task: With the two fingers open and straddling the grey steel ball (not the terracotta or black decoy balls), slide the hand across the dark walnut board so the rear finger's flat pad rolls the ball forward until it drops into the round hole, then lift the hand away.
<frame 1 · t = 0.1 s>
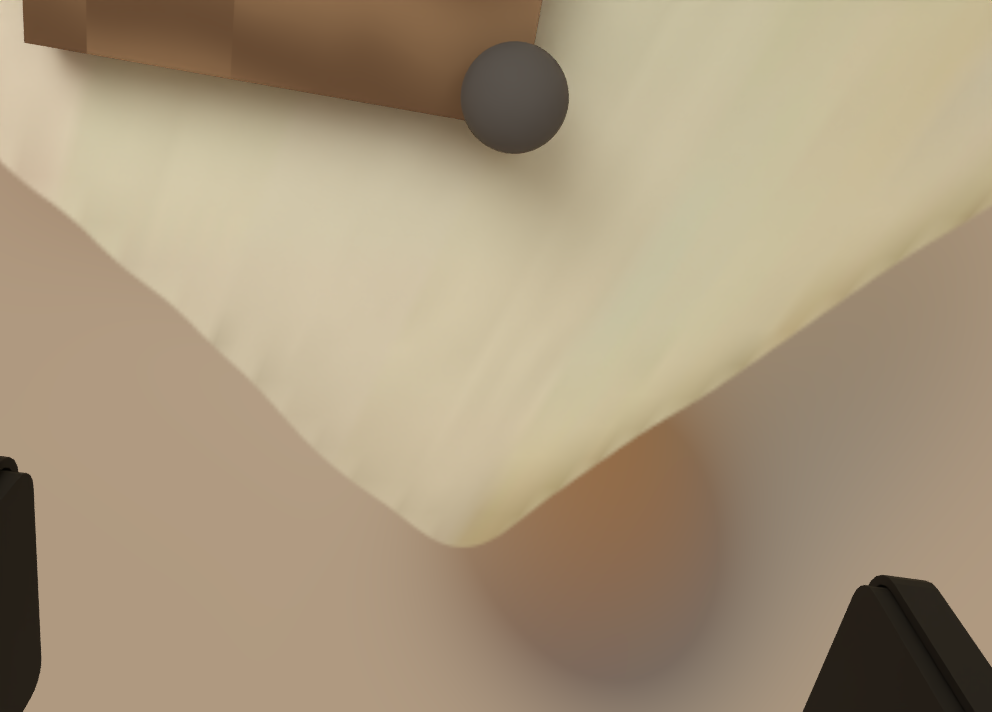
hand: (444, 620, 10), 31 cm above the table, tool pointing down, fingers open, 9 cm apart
black ball: (514, 98, 34), point 4 cm above the table, touching board
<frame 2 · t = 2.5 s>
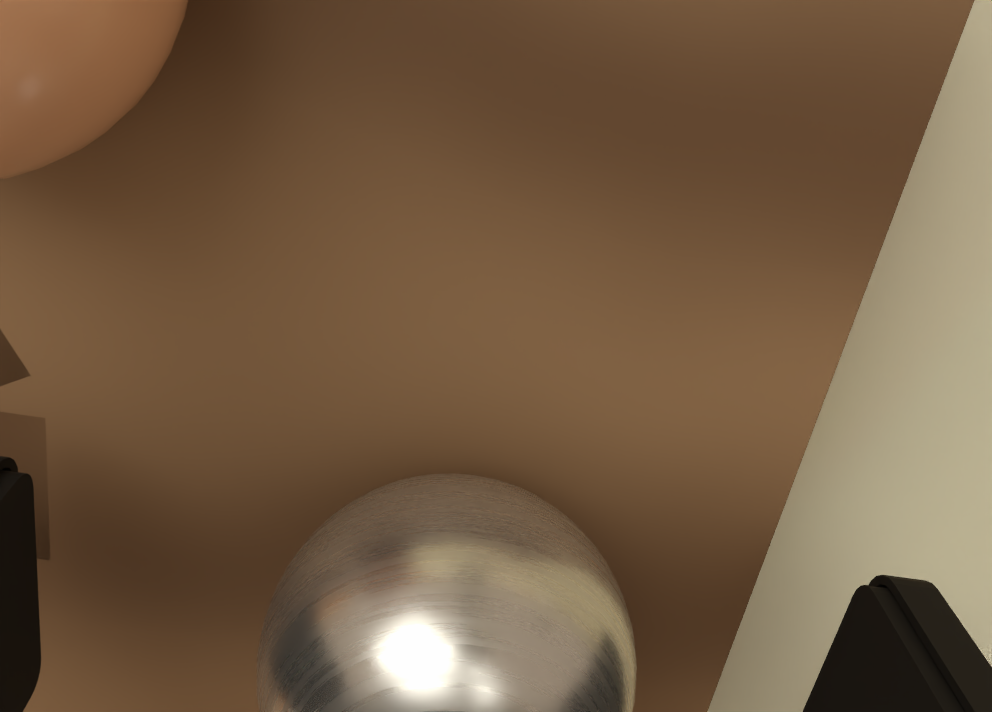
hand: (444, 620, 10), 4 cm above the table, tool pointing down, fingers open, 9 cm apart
board: (85, 390, 13), on the table
steel ball: (448, 660, 10), point 4 cm above the table, touching board
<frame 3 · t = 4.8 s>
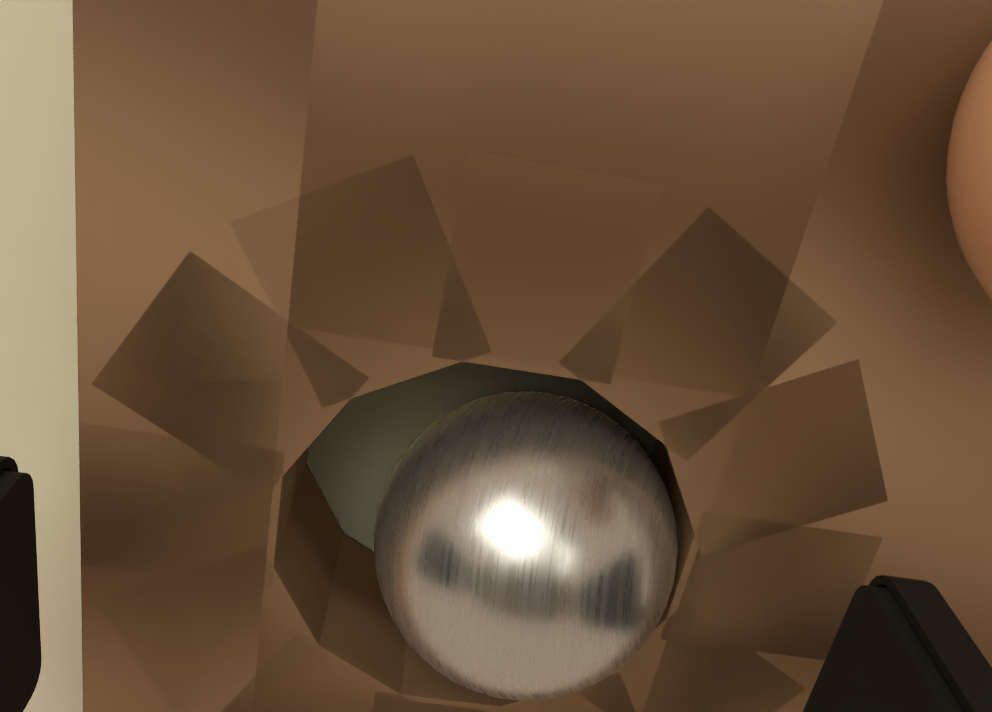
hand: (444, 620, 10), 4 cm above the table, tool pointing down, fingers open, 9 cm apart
board: (765, 490, 14), on the table
steel ball: (525, 540, 12), point 2 cm above the table, tilted 72°
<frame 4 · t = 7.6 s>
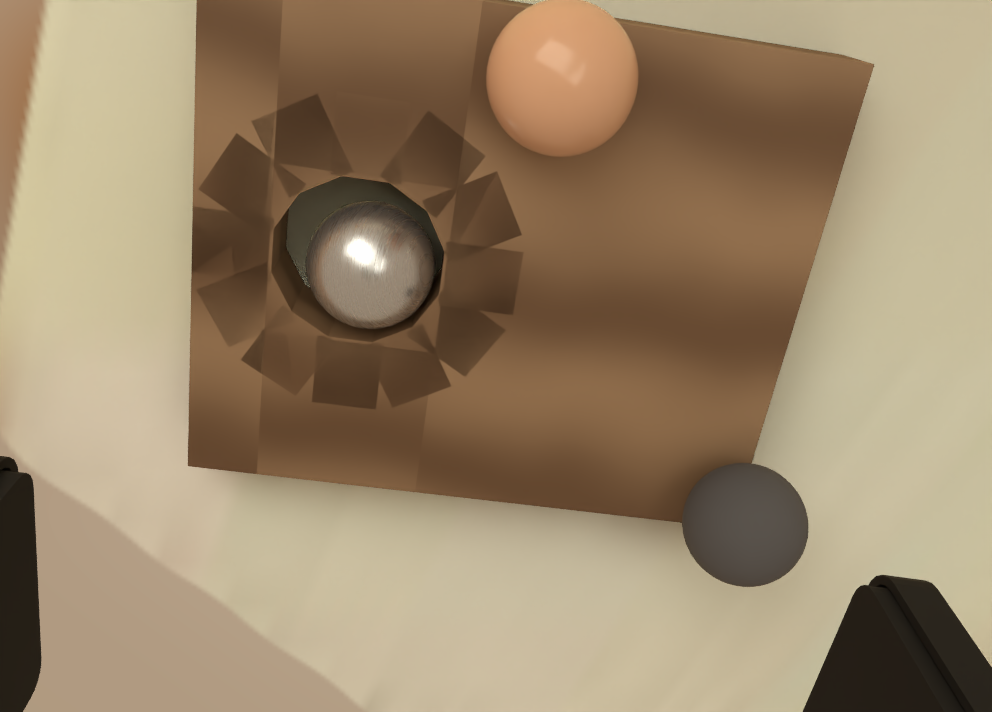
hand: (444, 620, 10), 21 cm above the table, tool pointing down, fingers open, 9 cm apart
terracotta ball: (561, 79, 24), point 4 cm above the table, touching board
board: (499, 257, 31), on the table
steel ball: (371, 265, 29), point 2 cm above the table, tilted 65°
black ball: (744, 524, 30), point 4 cm above the table, touching board
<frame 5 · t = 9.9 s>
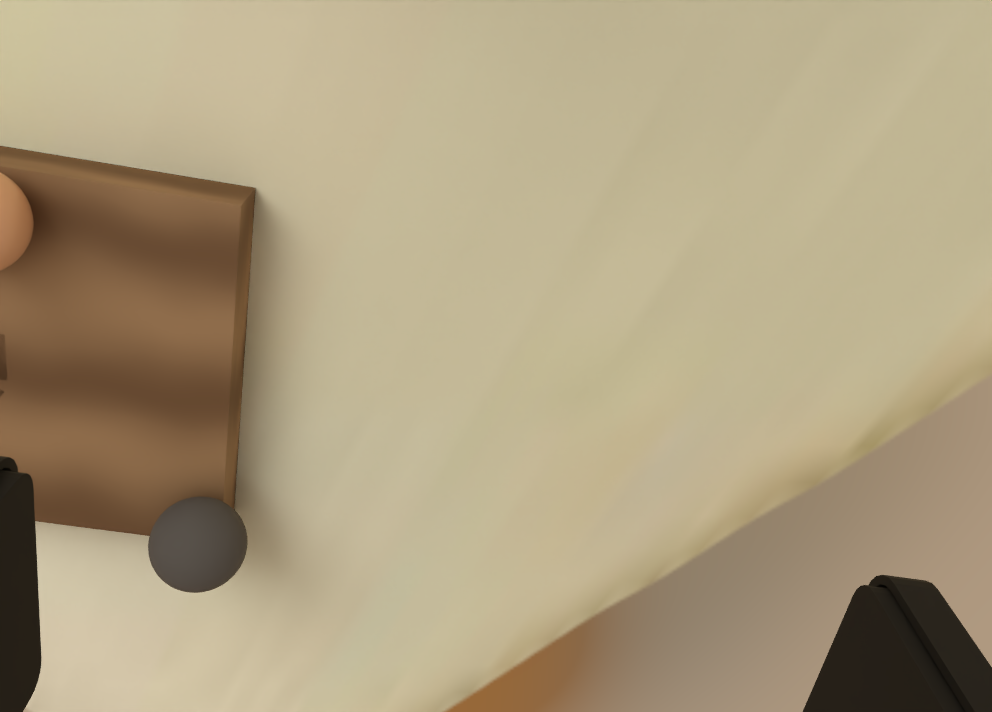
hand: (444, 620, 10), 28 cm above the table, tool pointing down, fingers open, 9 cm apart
board: (21, 331, 39), on the table
black ball: (198, 544, 39), point 4 cm above the table, touching board
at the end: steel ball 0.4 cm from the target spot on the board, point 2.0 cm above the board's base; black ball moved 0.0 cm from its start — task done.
